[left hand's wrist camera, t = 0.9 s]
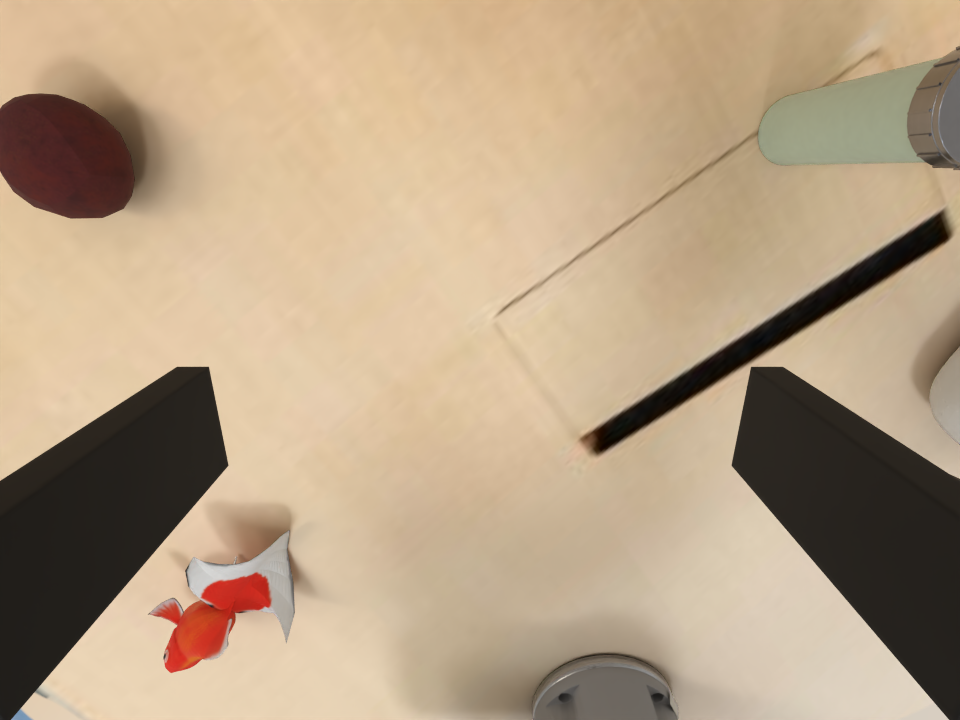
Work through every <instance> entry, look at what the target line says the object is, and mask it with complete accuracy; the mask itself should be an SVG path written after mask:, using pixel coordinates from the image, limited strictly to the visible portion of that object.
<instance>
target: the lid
mask: <svg viewBox="0 0 960 720" xmlns="http://www.w3.org/2000/svg"><path fill="white" fill-rule="evenodd" d="M907 115H908V117H907V133H908V136H907V137H908V138H909V141H910V144H911V146H912V148H913V150H914V151H915V153H916V154H917V155H916V156H917V157H920V158H921V159H922V160H923V161H925V162H927V163H928V164H930V165H933V166H932V167H933V168H954V169H953V170H960V46H958V47H956V50H954V51H952V52H951V53H949V54H948V55H946V56H945V57H943V58H942V59H941V60H940V61H939V62H937V63H935V64H934V65H933V67H932V68H931V69H930V70H929V72H928V73H927V74H926V75H925V77H924V78H923V79H922V81H921V82H920V84H919V86H917V88H916V91H915V93H914V96H913V98H912V100H911V103H910V107H909V111H908V113H907Z"/></svg>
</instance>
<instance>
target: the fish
mask: <svg viewBox="0 0 960 720" xmlns="http://www.w3.org/2000/svg"><path fill="white" fill-rule="evenodd" d="M289 533H290V530H288V531H287V532H286V533H284V534H283V535H282V536H280V537H279V538H278V539H277V540H276V541H275V542H274V543H273V544H272V545H271V546H270V547H269V548H267V549H266V550H265V551H263V552H262V553H260V554H259V555H258V556H256V557H255V558H253V559H252V560H250V561H248V562H244V563H239V564H236V560H237V556H236V558H235V560H234V563H233V564H215V563H208V562H203V561H201V560H199V559H197V558H195V557H193V559H192V561H191V562H190V564H189V566H188V567H187V569H186V571H185V572H186V577H187V582H188V586H189V588H190V589H191V590H192V592H193V593H194V594H195V595H196V596H197V597H198V598H200V599H201V601H198V602H195V603H194V604H192V605H191V606H189V607H188V608H187V609H186V610H185V611H183V609H182V607H181V605H180V604H179V602H178V601H177V600H176V599H175V598H171V599H168V600H166V601H164V602H162V603H161V604H159V605H158V606H157V607H156V608H155V609H154V610H153V611H151V612H150V613H149V614H151V615H154V616H157V617H162V618H164V619H168V620H170V621H171V622H173V623H175V624H176V625H178V626H177V627H176V628H175V629H174V631H173V633H172V636H171V638H170V640H169V643H168V645H167V647H166V650H165V653H164V662H165V667H166V669H167V670H168V671H169V672H170V673H173V672H176V671H181V670H185V669H188V668H191V667H193V666H194V665H196V664H197V663H198V662H199V661H200V660H202V659H204V660H212V659H216V658H218V657H219V656H221V655H222V654H223V652H224V651H225V650H226V648H227V646H228V634H229V633H230V631H231V630H232V628H233V626H234V623H235V613H243V612H251V611H263V612H270V613H274V614H275V615H276V617H277V618H278V620H279V622H280V623H281V626H282V629H283V632H284V635H285V639H286V643H287V639H288V636H289V632H290V628H291V624H292V621H293V617H294V613H295V608H294V588H293V579H292V573H291V568H290V562H289V556H288V550H287V547H288V541H289Z"/></svg>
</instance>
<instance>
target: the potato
mask: <svg viewBox="0 0 960 720" xmlns="http://www.w3.org/2000/svg"><path fill="white" fill-rule="evenodd" d="M0 172H1V174H2V175H3V177H4V178H5V180H6V181H7V183H8V184H9V186H10V187H11V189H12V190H13V191H14V192H15V193H16V194H17V195H19V196H20V197H21V198H23V199H24V200H26V201H27V202H28V203H30V204H31V205H32V206H34V207H36V208H39V209H43V210H46V211H49V212H52V213H55V214H58V215H61V216H65V217H68V218H103V217H106V216H108V215H111V214H113V213H115V212H117V211H119V210H122V209H124V207H125V206H126V204H127V203H128V201H129V200H130V198H131V196H132V192H133V186H134V180H135V179H134V173H133V167H132V161H131V156H130V153H129V151H128V149H127V147H126V145H125V143H124V141H123V139H122V137H121V135H120V133H119V132H118V131H117V130H116V129H115V128H114V127H113V126H112V125H111V124H110V123H109V122H108V121H107V120H106V119H105V118H103V117H102V116H101V115H99V114H98V113H96V112H95V111H93V110H92V109H90V108H89V107H87V106H86V105H84V104H81V103H79V102H76V101H74V100H71V99H68V98H65V97H62V96H59V95H54V94H27V95H23V96H19V97H15V98H13V99H11V100H10V101H8V102H7V103H5V104H4V105H2V107H1V108H0Z"/></svg>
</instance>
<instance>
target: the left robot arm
mask: <svg viewBox="0 0 960 720" xmlns="http://www.w3.org/2000/svg"><path fill="white" fill-rule="evenodd" d="M227 467H228V461H227V456H226V451H225V446H224V441H223V436H222V431H221V426H220V421H219V416H218V411H217V406H216V401H215V396H214V391H213V386H212V381H211V376H210V371H209V367H176V368H175V369H173V370H172V371H170V372H168V373H167V374H165V375H164V376H162V377H161V378H159V379H158V380H156V381H155V382H153V383H151V384H150V385H148V386H147V387H145V388H144V389H142V390H141V391H139V392H137V393H136V394H134V395H133V396H131V397H130V398H128V399H127V400H125V401H124V402H122V403H120V404H119V405H117V406H116V407H114V408H113V409H111V410H110V411H108V412H106V413H105V414H103V415H102V416H100V417H99V418H97V419H96V420H94V421H92V422H91V423H89V424H88V425H86V426H85V427H83V428H82V429H80V430H79V431H77V432H75V433H74V434H72V435H71V436H69V437H68V438H66V439H65V440H63V441H61V442H60V443H58V444H57V445H55V446H54V447H52V448H51V449H49V450H48V451H46V452H44V453H43V454H41V455H40V456H38V457H37V458H35V459H34V460H32V461H30V462H29V463H27V464H26V465H24V466H23V467H21V468H20V469H18V470H17V471H15V472H13V473H12V474H10V475H9V476H7V477H6V478H4V479H3V480H1V481H0V720H11V719H12V718H13V717H14V715H15V714H16V713H17V712H18V711H19V710H20V708H21V707H22V706H23V705H24V704H25V703H26V701H27V700H28V699H29V698H30V697H31V696H32V694H33V693H34V692H35V691H36V690H37V689H38V687H39V686H40V685H41V684H42V683H43V682H44V680H45V679H46V678H47V677H48V676H49V675H50V673H51V672H52V671H53V670H54V669H55V668H56V666H57V665H58V664H59V663H60V662H61V661H62V659H63V658H64V657H65V656H66V655H67V653H68V652H69V651H70V650H71V649H72V648H73V646H74V645H75V644H76V643H77V642H78V641H79V639H80V638H81V637H82V636H83V635H84V634H85V632H86V631H87V630H88V629H89V628H90V627H91V625H92V624H93V623H94V622H95V621H96V620H97V618H98V617H99V616H100V615H101V614H102V613H103V611H104V610H105V609H106V608H107V607H108V606H109V604H110V603H111V602H112V601H113V600H114V599H115V597H116V596H117V595H118V594H119V593H120V592H121V590H122V589H123V588H124V587H125V586H126V585H127V583H128V582H129V581H130V580H131V579H132V578H133V576H134V575H135V574H136V573H137V572H138V571H139V569H140V568H141V567H142V566H143V565H144V564H145V562H146V561H147V560H148V559H149V558H150V557H151V555H152V554H153V553H154V552H155V551H156V550H157V548H158V547H159V546H160V545H161V544H162V543H163V541H164V540H165V539H166V538H167V537H168V535H169V534H170V533H171V532H172V531H173V530H174V528H175V527H176V526H177V525H178V524H179V523H180V521H181V520H182V519H183V518H184V517H185V516H186V514H187V513H188V512H189V511H190V510H191V509H192V507H193V506H194V505H195V504H196V503H197V502H198V500H199V499H200V498H201V497H202V496H203V495H204V493H205V492H206V491H207V490H208V489H209V488H210V486H211V485H212V484H213V483H214V482H215V481H216V479H217V478H218V477H219V476H220V475H221V474H222V472H223V471H224V470H225V469H226V468H227ZM732 467H733V468H734V469H735V470H736V471H737V472H738V474H739V475H740V476H741V477H742V478H743V479H744V481H745V482H746V483H747V484H748V485H749V486H750V488H751V489H752V490H753V491H754V492H755V493H756V495H757V496H758V497H759V498H760V499H761V500H762V502H763V503H764V504H765V505H766V506H767V507H768V509H769V510H770V511H771V512H772V513H773V514H774V516H775V517H776V518H777V519H778V520H779V521H780V523H781V524H782V525H783V526H784V527H785V528H786V530H787V531H788V532H789V533H790V534H791V535H792V537H793V538H794V539H795V540H796V541H797V543H798V544H799V545H800V546H801V547H802V548H803V550H804V551H805V552H806V553H807V554H808V555H809V557H810V558H811V559H812V560H813V561H814V562H815V564H816V565H817V566H818V567H819V568H820V569H821V571H822V572H823V573H824V574H825V575H826V576H827V578H828V579H829V580H830V581H831V582H832V583H833V585H834V586H835V587H836V588H837V589H838V590H839V592H840V593H841V594H842V595H843V596H844V597H845V599H846V600H847V601H848V602H849V603H850V604H851V606H852V607H853V608H854V609H855V610H856V611H857V613H858V614H859V615H860V616H861V617H862V618H863V620H864V621H865V622H866V623H867V624H868V625H869V627H870V628H871V629H872V630H873V631H874V632H875V634H876V635H877V636H878V637H879V638H880V639H881V641H882V642H883V643H884V644H885V645H886V646H887V648H888V649H889V650H890V651H891V652H892V653H893V655H894V656H895V657H896V658H897V659H898V661H899V662H900V663H901V664H902V665H903V666H904V668H905V669H906V670H907V671H908V672H909V673H910V675H911V676H912V677H913V678H914V679H915V680H916V682H917V683H918V684H919V685H920V686H921V687H922V689H923V690H924V691H925V692H926V693H927V694H928V696H929V697H930V698H931V699H932V700H933V701H934V703H935V704H936V705H937V706H938V707H939V708H940V710H941V711H942V712H943V713H944V714H945V715H946V717H947V718H948V719H949V720H960V479H959V478H957V477H954V476H952V475H950V474H948V473H947V472H945V471H943V470H942V469H940V468H939V467H937V466H936V465H934V464H933V463H931V462H930V461H928V460H926V459H925V458H923V457H922V456H920V455H919V454H917V453H916V452H914V451H912V450H911V449H909V448H908V447H906V446H905V445H903V444H902V443H900V442H899V441H897V440H895V439H894V438H892V437H891V436H889V435H888V434H886V433H885V432H883V431H881V430H880V429H878V428H877V427H875V426H874V425H872V424H871V423H869V422H868V421H866V420H864V419H863V418H861V417H860V416H858V415H857V414H855V413H854V412H852V411H850V410H849V409H847V408H846V407H844V406H843V405H841V404H840V403H838V402H836V401H835V400H833V399H832V398H830V397H829V396H827V395H826V394H824V393H823V392H821V391H819V390H818V389H816V388H815V387H813V386H812V385H810V384H809V383H807V382H805V381H804V380H802V379H801V378H799V377H798V376H796V375H795V374H793V373H792V372H790V371H788V370H787V369H785V368H784V367H751V371H750V376H749V381H748V386H747V391H746V396H745V401H744V406H743V411H742V416H741V421H740V426H739V431H738V436H737V441H736V446H735V451H734V456H733V461H732ZM532 714H533V720H678V719H679V716H678V704H677V703H676V701H675V699H674V697H673V695H672V693H671V690H670V687H669V685H668V683H667V681H666V680H665V678H664V677H663V676H662V675H661V674H660V673H659V672H658V671H657V670H656V669H654V668H653V667H652V666H650V665H648V664H646V663H644V662H642V661H640V660H637V659H634V658H630V657H626V656H619V655H596V656H589V657H585V658H581V659H577V660H574V661H572V662H569V663H567V664H565V665H563V666H561V667H559V668H558V669H556V670H555V671H553V672H552V673H551V674H550V675H548V676H547V677H546V678H545V679H544V680H543V682H542V683H541V684H540V686H539V687H538V689H537V691H536V693H535V695H534V698H533V703H532Z"/></svg>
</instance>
